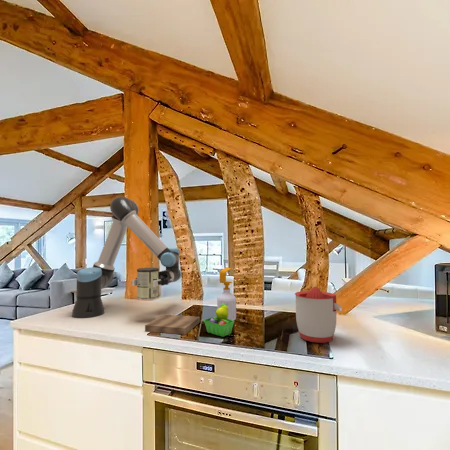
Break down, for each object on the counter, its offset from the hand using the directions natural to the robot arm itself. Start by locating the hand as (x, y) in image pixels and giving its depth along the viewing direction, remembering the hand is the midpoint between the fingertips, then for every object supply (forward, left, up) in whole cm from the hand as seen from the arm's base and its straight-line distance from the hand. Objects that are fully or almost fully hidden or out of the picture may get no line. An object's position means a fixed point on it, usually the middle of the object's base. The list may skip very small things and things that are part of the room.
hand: (143, 283), depth 132 cm
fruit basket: (+38, -5, -18) cm, 43 cm away
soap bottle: (+36, +15, -18) cm, 43 cm away
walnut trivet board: (+16, -2, -18) cm, 24 cm away
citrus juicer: (+77, -3, -18) cm, 80 cm away
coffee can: (0, +4, -8) cm, 9 cm away
